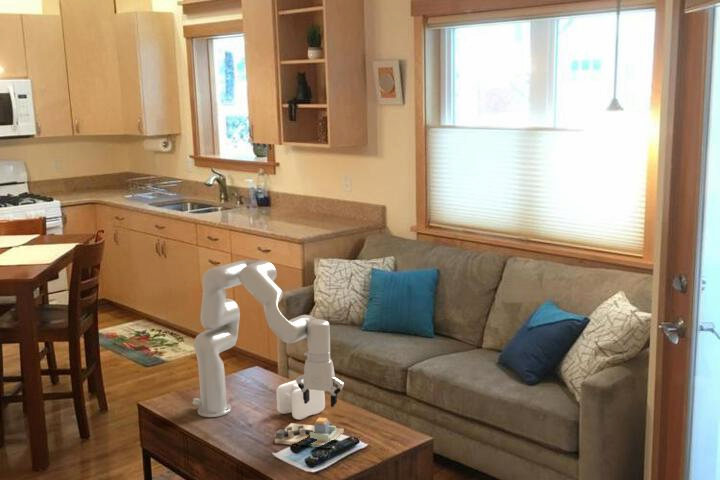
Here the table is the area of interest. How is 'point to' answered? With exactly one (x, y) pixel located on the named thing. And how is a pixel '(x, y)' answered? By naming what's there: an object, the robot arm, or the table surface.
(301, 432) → the board
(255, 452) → the table surface
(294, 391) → the cable organizer
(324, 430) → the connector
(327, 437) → the bracket
